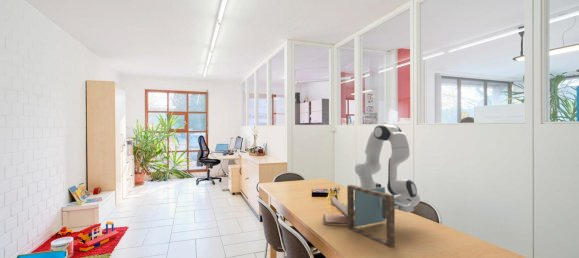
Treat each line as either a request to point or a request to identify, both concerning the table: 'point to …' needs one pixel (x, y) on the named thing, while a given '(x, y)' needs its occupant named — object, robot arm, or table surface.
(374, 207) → the door
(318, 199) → the table surface
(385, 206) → the dark blue-gray block
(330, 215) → the case
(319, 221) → the table surface
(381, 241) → the door frame
